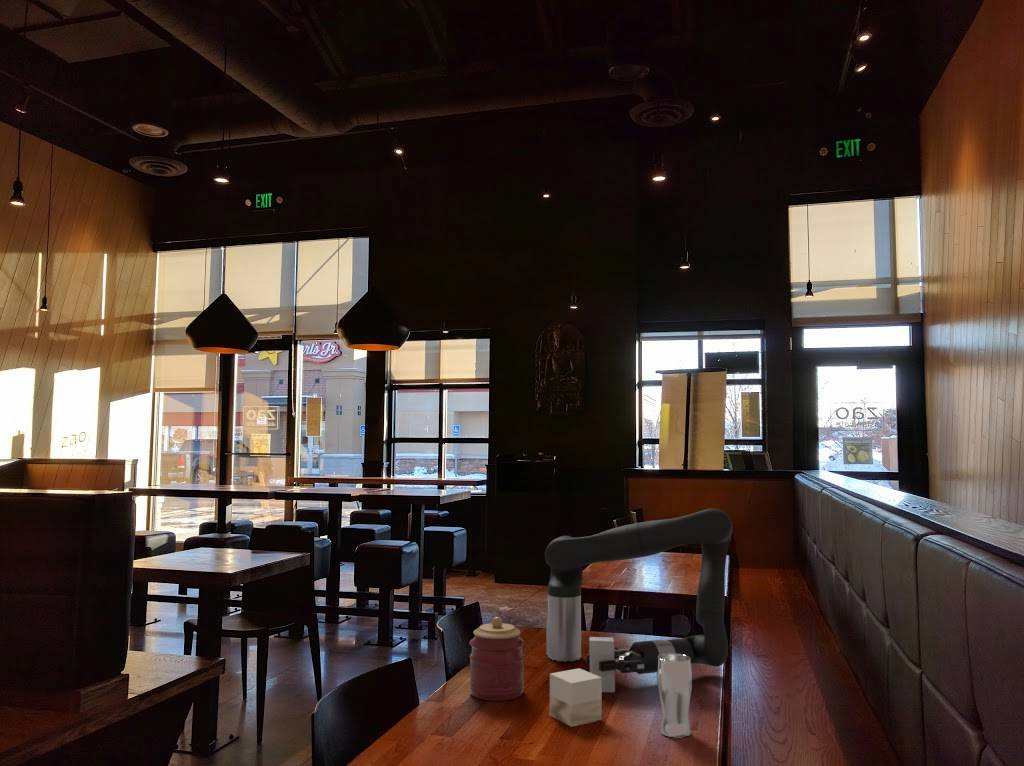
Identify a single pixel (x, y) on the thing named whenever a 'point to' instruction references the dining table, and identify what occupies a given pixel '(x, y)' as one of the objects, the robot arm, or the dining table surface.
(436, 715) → the dining table surface
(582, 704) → the tower bottom block
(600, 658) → the skincare box
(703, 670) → the dining table surface
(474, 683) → the canister
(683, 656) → the beer glass
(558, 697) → the tower top block
